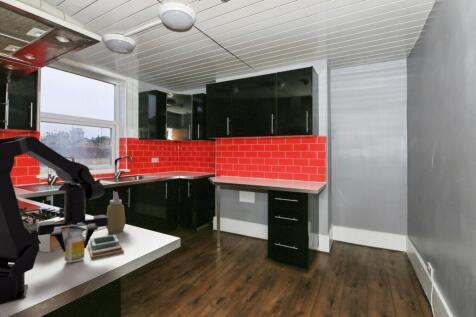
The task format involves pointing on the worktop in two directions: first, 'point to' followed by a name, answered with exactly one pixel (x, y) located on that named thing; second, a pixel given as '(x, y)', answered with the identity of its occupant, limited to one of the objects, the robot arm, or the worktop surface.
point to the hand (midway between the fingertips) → (74, 249)
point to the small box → (51, 237)
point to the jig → (104, 247)
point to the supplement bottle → (74, 245)
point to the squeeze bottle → (115, 215)
